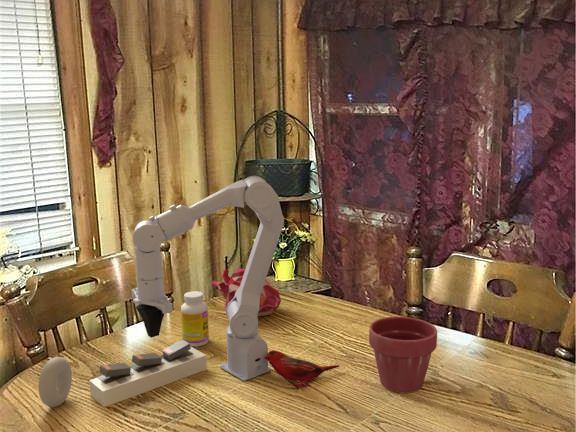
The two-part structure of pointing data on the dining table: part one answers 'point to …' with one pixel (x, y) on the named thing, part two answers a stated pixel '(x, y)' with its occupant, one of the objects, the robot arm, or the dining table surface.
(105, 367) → the rocker
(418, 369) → the plant pot
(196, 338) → the supplement bottle
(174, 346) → the block
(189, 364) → the rocker switch panel
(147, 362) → the rocker
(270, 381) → the dining table surface
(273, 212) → the robot arm
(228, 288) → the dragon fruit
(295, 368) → the decorative bird figurine
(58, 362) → the grey round disc
